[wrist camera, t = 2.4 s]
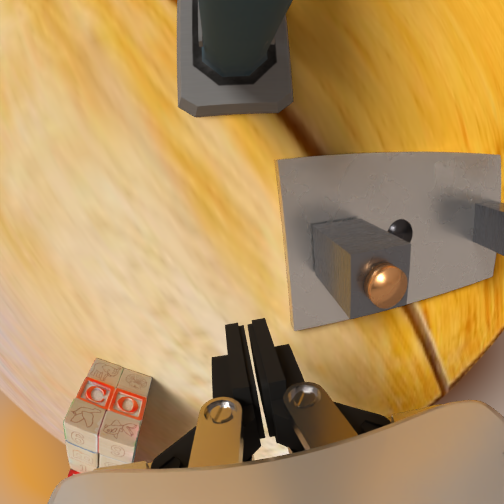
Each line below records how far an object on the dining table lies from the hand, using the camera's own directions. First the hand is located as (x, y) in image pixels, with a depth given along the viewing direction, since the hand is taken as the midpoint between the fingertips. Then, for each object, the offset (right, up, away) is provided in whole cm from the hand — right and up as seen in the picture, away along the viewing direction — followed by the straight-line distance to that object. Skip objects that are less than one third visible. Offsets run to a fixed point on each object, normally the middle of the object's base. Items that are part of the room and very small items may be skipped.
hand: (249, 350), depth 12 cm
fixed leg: (+24, +7, +12) cm, 28 cm away
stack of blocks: (-16, -17, +17) cm, 29 cm away
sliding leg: (+7, +5, +11) cm, 13 cm away
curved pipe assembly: (-2, +31, +3) cm, 31 cm away
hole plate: (+15, +6, +12) cm, 20 cm away
